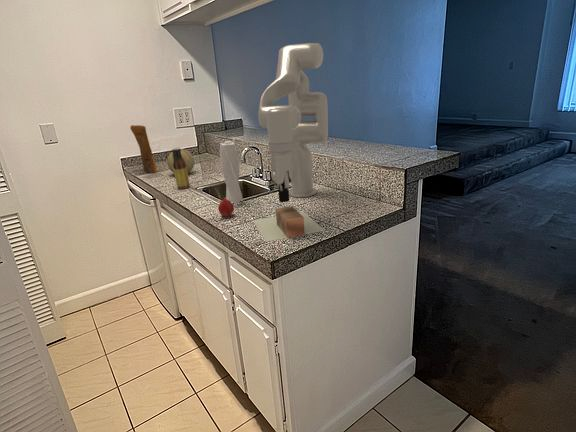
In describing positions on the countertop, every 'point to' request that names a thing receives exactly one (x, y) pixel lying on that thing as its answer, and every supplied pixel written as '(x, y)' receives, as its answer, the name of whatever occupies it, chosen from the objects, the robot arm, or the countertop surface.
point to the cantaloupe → (187, 158)
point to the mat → (274, 232)
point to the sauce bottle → (180, 170)
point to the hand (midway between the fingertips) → (284, 201)
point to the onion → (226, 207)
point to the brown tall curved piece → (144, 148)
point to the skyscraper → (231, 170)
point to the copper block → (290, 221)
